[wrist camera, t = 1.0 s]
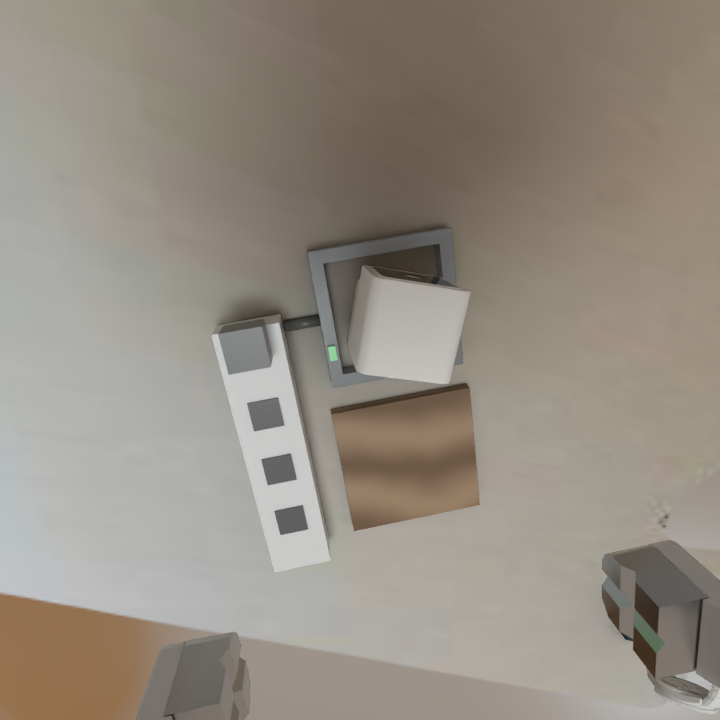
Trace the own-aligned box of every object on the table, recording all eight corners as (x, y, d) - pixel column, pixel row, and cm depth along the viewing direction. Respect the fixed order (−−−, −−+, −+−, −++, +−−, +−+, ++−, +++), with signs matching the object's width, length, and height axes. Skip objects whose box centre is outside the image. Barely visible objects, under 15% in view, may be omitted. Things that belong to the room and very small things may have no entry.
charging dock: (307, 250, 37) (307, 252, 35) (445, 227, 38) (452, 228, 36) (331, 381, 41) (333, 389, 39) (457, 358, 41) (464, 364, 40)
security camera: (432, 270, 39) (474, 291, 29) (415, 352, 41) (449, 397, 31) (355, 258, 38) (373, 276, 28) (341, 343, 40) (354, 386, 30)
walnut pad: (331, 409, 41) (331, 414, 40) (465, 383, 42) (469, 387, 41) (353, 524, 45) (354, 530, 44) (476, 498, 46) (479, 504, 45)
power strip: (216, 319, 38) (203, 336, 33) (324, 299, 38) (327, 314, 33) (276, 549, 45) (273, 593, 40) (366, 530, 46) (374, 571, 40)
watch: (600, 629, 53) (672, 732, 43) (632, 571, 51) (716, 664, 41) (641, 636, 54) (722, 737, 44) (675, 579, 52) (767, 672, 42)
